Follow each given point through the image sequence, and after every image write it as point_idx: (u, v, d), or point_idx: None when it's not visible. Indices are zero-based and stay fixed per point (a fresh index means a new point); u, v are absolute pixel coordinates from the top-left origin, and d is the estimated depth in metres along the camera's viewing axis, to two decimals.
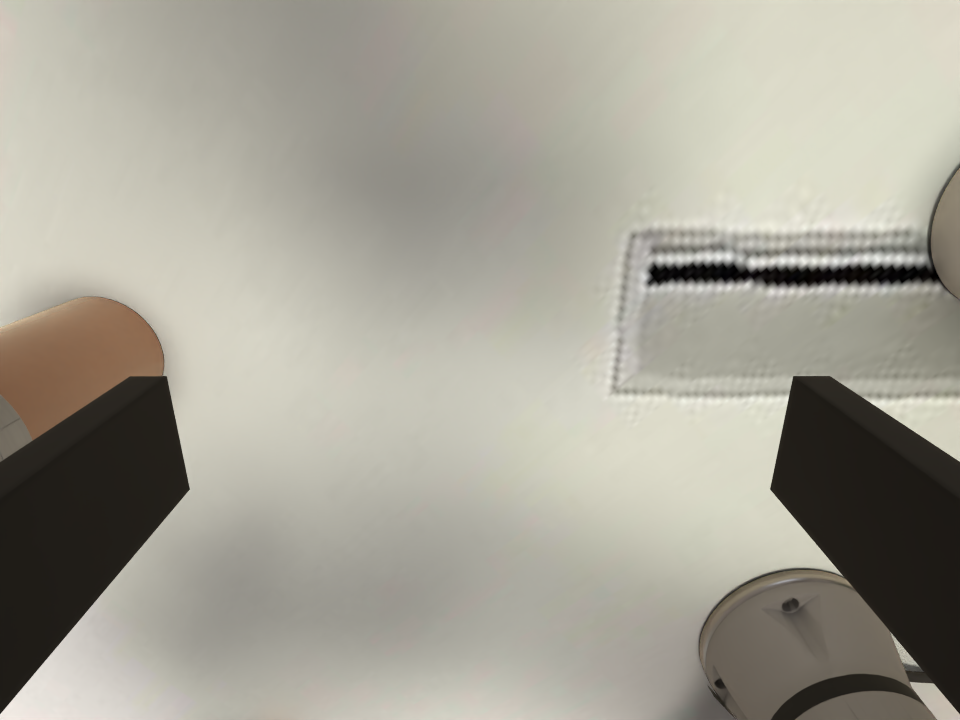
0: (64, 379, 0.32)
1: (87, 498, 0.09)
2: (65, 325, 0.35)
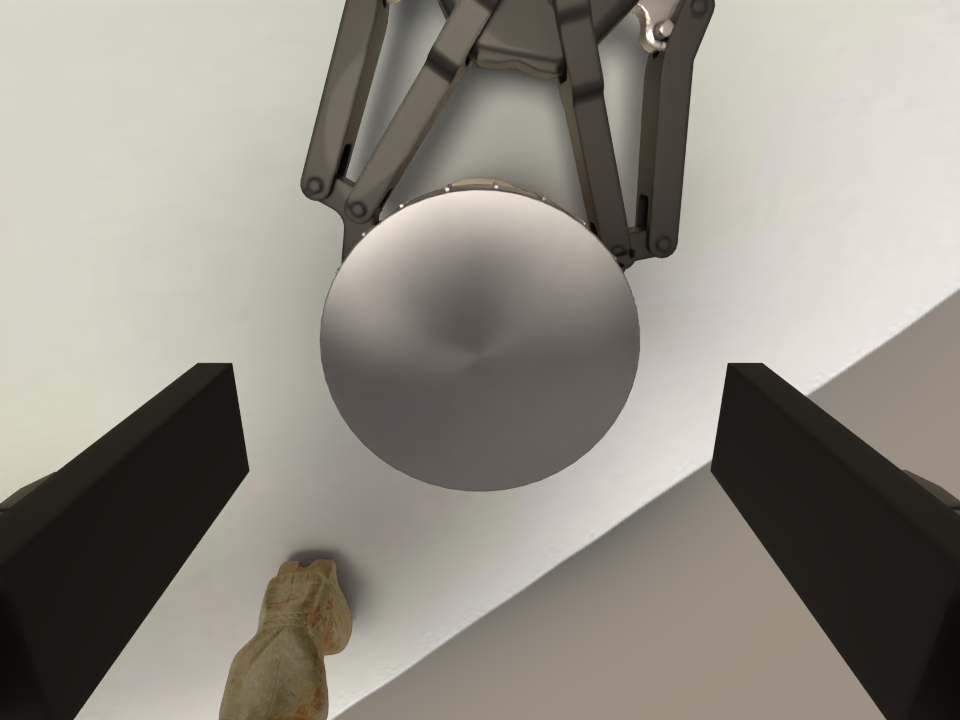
0: None
1: (173, 473, 0.10)
2: None
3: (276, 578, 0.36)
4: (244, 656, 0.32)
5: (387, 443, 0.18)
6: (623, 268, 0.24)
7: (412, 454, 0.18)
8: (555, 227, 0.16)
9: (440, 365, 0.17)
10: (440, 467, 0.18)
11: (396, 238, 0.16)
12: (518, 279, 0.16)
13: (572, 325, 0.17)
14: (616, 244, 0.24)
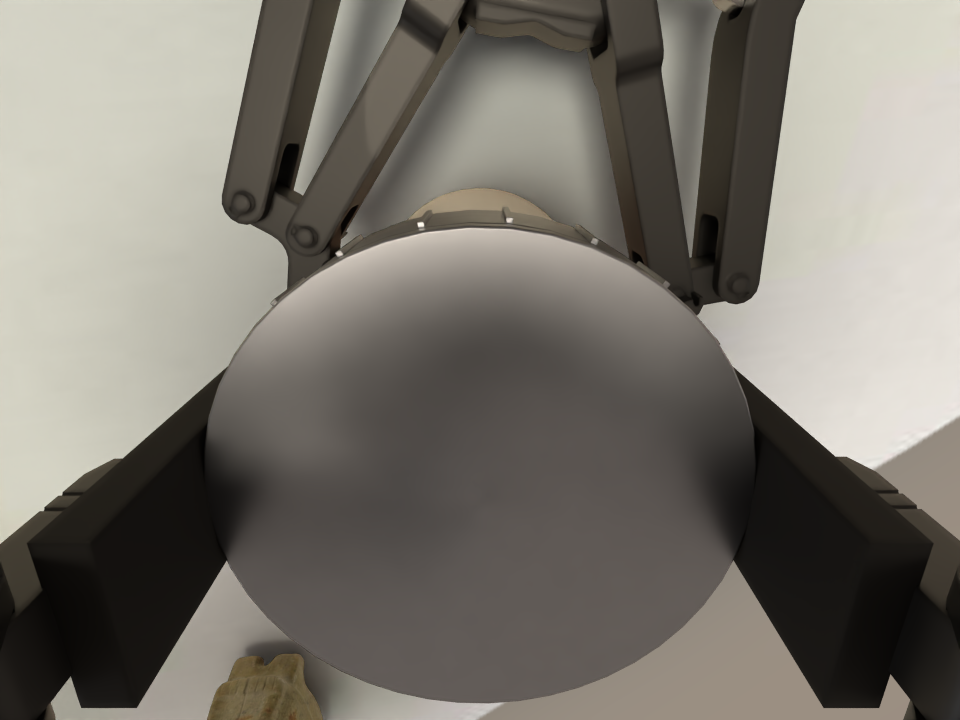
0: None
1: None
2: None
3: (225, 686, 0.28)
4: None
5: (327, 636, 0.11)
6: None
7: (369, 651, 0.11)
8: (617, 294, 0.09)
9: (412, 520, 0.10)
10: (415, 670, 0.11)
11: (328, 313, 0.09)
12: (548, 383, 0.09)
13: (640, 458, 0.10)
14: (672, 285, 0.17)
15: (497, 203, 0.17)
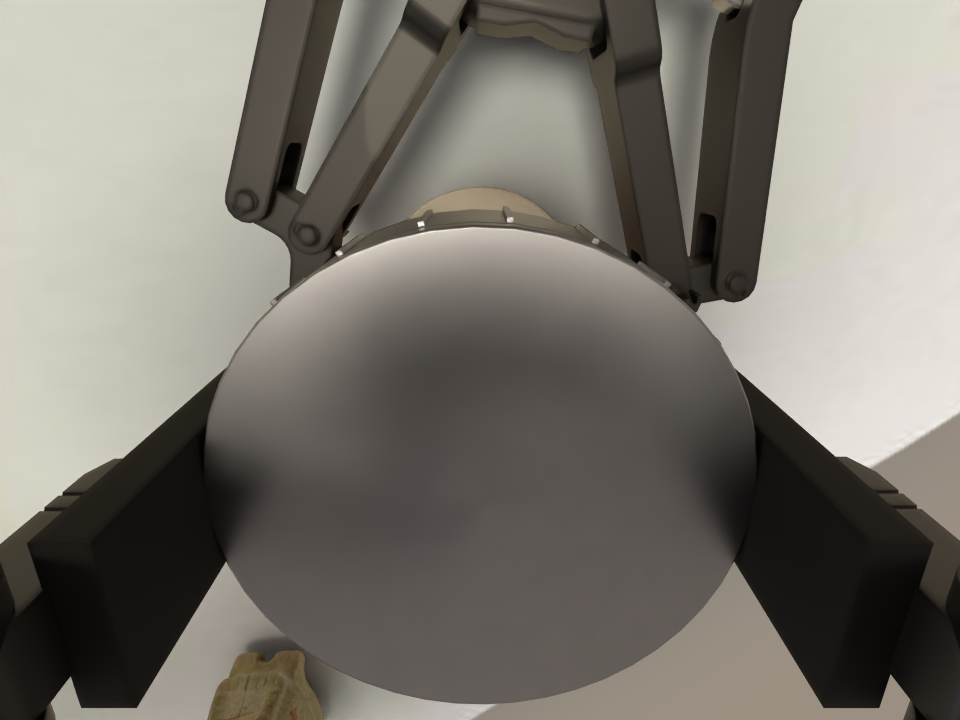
0: None
1: None
2: None
3: (227, 682, 0.29)
4: None
5: (610, 650, 0.11)
6: None
7: (640, 622, 0.11)
8: (264, 365, 0.09)
9: (489, 562, 0.10)
10: (676, 588, 0.10)
11: (276, 587, 0.10)
12: (352, 432, 0.09)
13: (446, 352, 0.09)
14: (671, 283, 0.17)
15: (497, 202, 0.18)
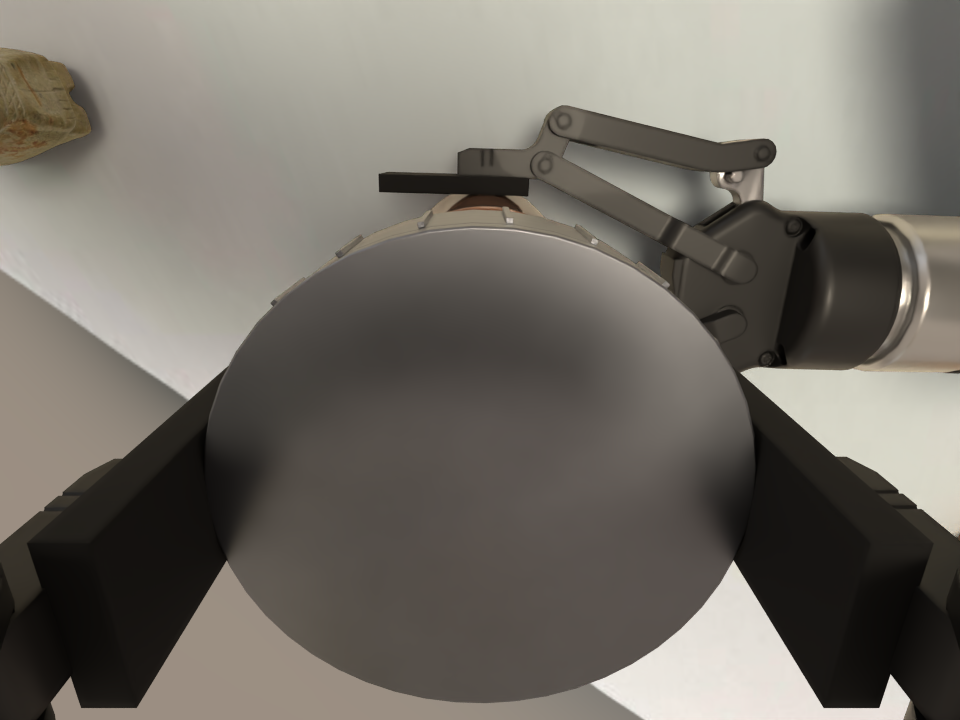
0: (511, 201, 0.24)
1: None
2: (448, 199, 0.27)
3: (50, 65, 0.28)
4: None
5: (610, 649, 0.11)
6: None
7: (639, 621, 0.11)
8: (264, 365, 0.09)
9: (489, 561, 0.10)
10: (675, 587, 0.11)
11: (277, 587, 0.11)
12: (352, 432, 0.09)
13: (446, 352, 0.09)
14: None
15: None
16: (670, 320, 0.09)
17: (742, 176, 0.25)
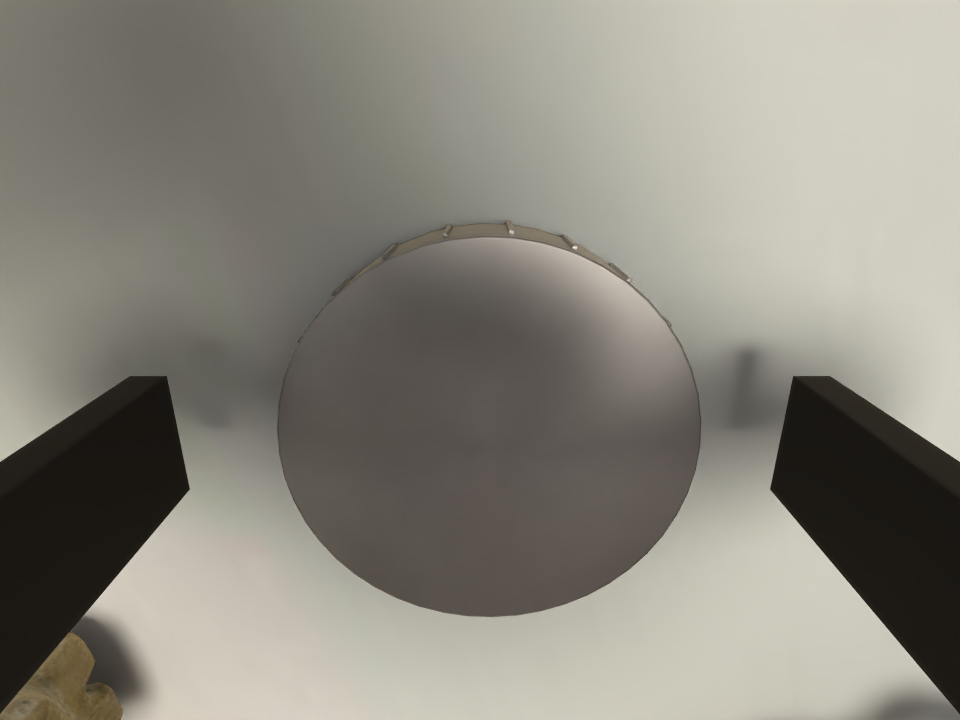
0: None
1: (87, 498, 0.09)
2: None
3: None
4: None
5: (591, 571, 0.14)
6: None
7: (614, 546, 0.14)
8: (327, 340, 0.12)
9: (495, 496, 0.13)
10: (642, 518, 0.13)
11: (330, 517, 0.13)
12: (392, 392, 0.12)
13: (464, 330, 0.12)
14: None
15: None
16: (631, 306, 0.12)
17: None
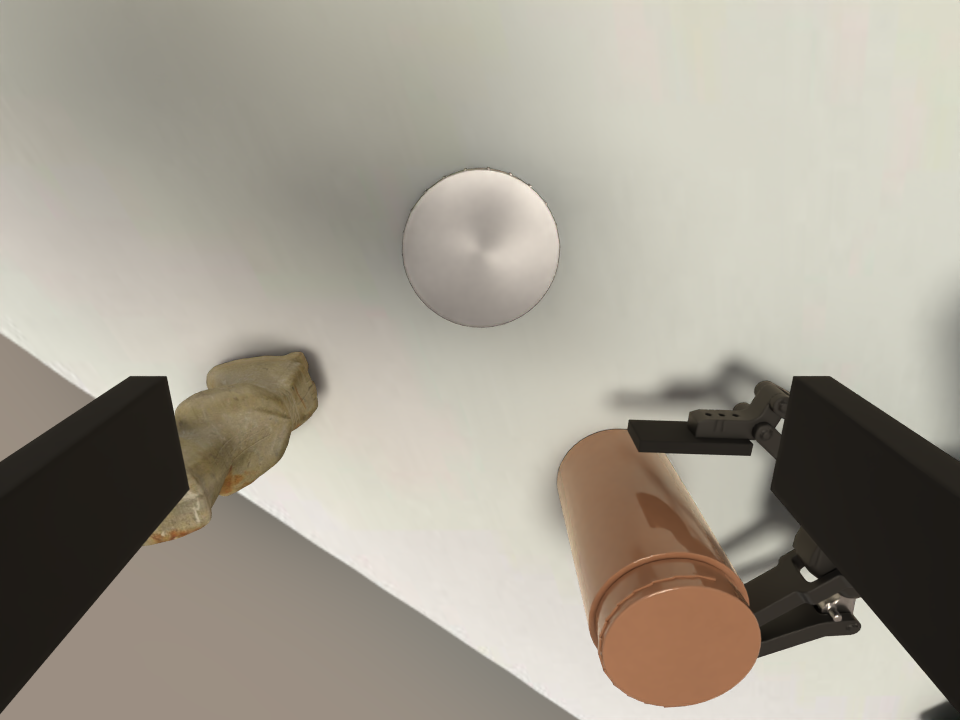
0: (674, 506, 0.32)
1: (87, 498, 0.09)
2: (610, 474, 0.36)
3: (305, 370, 0.36)
4: (259, 398, 0.32)
5: (521, 305, 0.36)
6: None
7: (529, 294, 0.35)
8: (423, 208, 0.34)
9: (483, 272, 0.35)
10: (539, 281, 0.35)
11: (420, 281, 0.35)
12: (445, 228, 0.34)
13: (471, 204, 0.33)
14: None
15: None
16: (531, 195, 0.33)
17: None
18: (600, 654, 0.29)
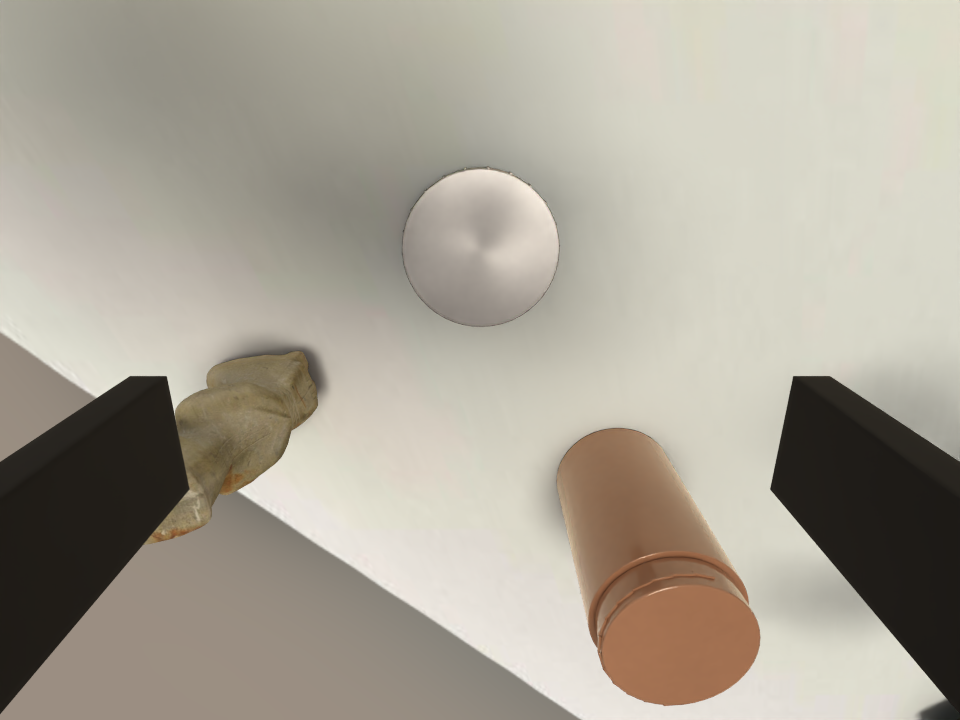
0: (673, 505, 0.32)
1: (87, 498, 0.09)
2: (609, 473, 0.36)
3: (305, 369, 0.36)
4: (259, 397, 0.32)
5: (521, 304, 0.36)
6: None
7: (529, 293, 0.35)
8: (422, 207, 0.34)
9: (483, 271, 0.35)
10: (539, 280, 0.35)
11: (420, 281, 0.35)
12: (445, 227, 0.34)
13: (471, 203, 0.34)
14: None
15: None
16: (530, 194, 0.33)
17: None
18: None
